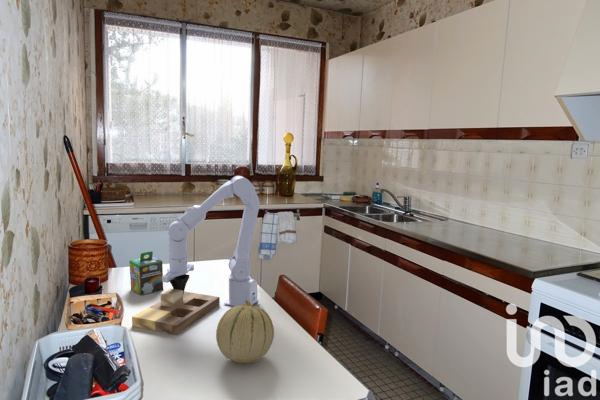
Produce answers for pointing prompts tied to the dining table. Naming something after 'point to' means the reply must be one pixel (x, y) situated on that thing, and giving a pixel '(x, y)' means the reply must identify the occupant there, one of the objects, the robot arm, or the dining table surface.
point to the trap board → (176, 313)
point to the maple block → (171, 297)
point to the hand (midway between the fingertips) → (179, 296)
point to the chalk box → (146, 274)
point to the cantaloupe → (245, 333)
